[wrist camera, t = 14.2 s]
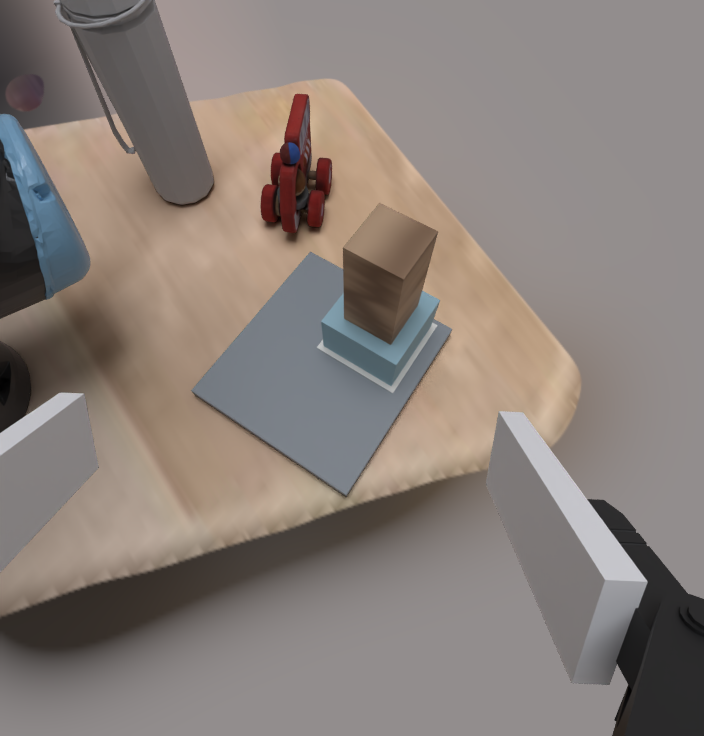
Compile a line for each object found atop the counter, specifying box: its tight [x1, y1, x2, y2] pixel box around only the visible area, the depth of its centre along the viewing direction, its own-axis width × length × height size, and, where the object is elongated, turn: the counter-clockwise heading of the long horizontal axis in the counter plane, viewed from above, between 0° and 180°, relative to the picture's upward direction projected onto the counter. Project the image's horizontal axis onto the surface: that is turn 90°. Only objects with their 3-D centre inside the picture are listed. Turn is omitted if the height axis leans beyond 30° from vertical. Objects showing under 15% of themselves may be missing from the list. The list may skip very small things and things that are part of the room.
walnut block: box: [343, 203, 438, 345], centre depth 37 cm, size 5×5×10 cm
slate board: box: [191, 252, 452, 497], centre depth 46 cm, size 18×20×1 cm
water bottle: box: [54, 0, 214, 205], centre depth 45 cm, size 9×8×25 cm
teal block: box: [321, 291, 440, 386], centre depth 44 cm, size 8×8×5 cm
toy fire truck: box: [261, 94, 332, 233], centre depth 50 cm, size 7×12×10 cm, turn 172°
